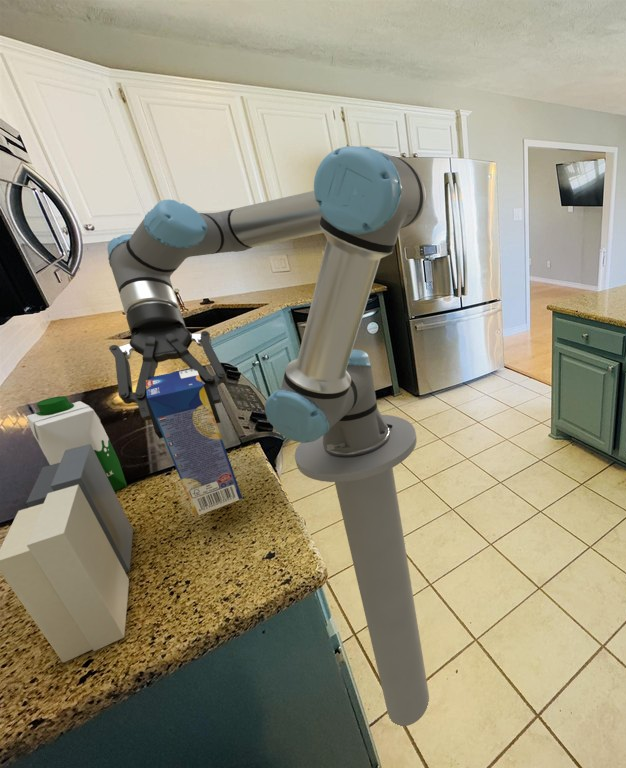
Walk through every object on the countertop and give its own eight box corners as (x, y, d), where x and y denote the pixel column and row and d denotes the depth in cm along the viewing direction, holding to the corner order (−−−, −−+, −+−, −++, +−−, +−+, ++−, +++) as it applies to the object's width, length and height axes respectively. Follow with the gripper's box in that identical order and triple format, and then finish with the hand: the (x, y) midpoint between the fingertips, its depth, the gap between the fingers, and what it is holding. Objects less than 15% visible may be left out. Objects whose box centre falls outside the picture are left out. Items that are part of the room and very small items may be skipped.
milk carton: (118, 472, 90) (79, 389, 82) (134, 485, 85) (94, 399, 77) (63, 494, 83) (14, 406, 75) (77, 509, 78) (27, 417, 70)
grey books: (133, 530, 73) (90, 443, 66) (129, 571, 64) (80, 477, 57) (88, 545, 70) (38, 456, 63) (78, 592, 61) (19, 494, 54)
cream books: (129, 579, 63) (78, 484, 56) (124, 637, 54) (63, 532, 47) (76, 601, 59) (15, 502, 52) (62, 666, 51) (-14, 558, 44)
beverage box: (232, 472, 80) (195, 367, 71) (242, 499, 72) (203, 385, 64) (189, 486, 76) (145, 377, 67) (195, 516, 68) (147, 398, 60)
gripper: (222, 316, 81) (259, 417, 76) (86, 336, 70) (117, 456, 64) (217, 293, 75) (256, 400, 70) (66, 310, 64) (99, 440, 58)
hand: (189, 427), depth 67 cm, fingers closed on beverage box, 7 cm apart
